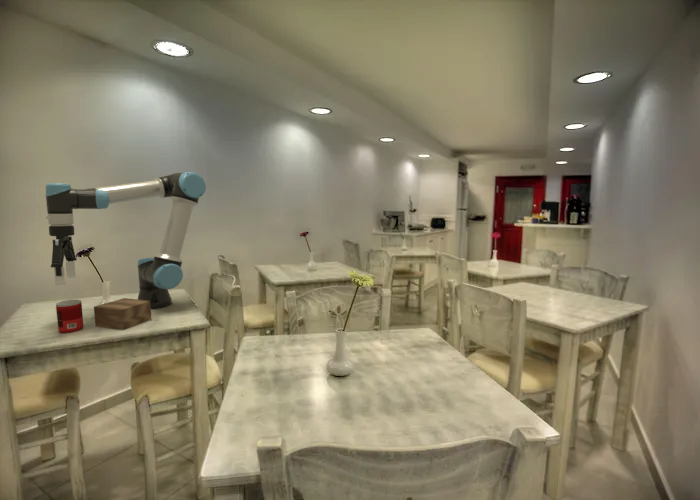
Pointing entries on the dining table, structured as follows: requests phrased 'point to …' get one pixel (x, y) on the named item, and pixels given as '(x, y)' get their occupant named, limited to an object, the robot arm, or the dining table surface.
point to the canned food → (69, 316)
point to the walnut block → (122, 313)
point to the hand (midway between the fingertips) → (66, 281)
